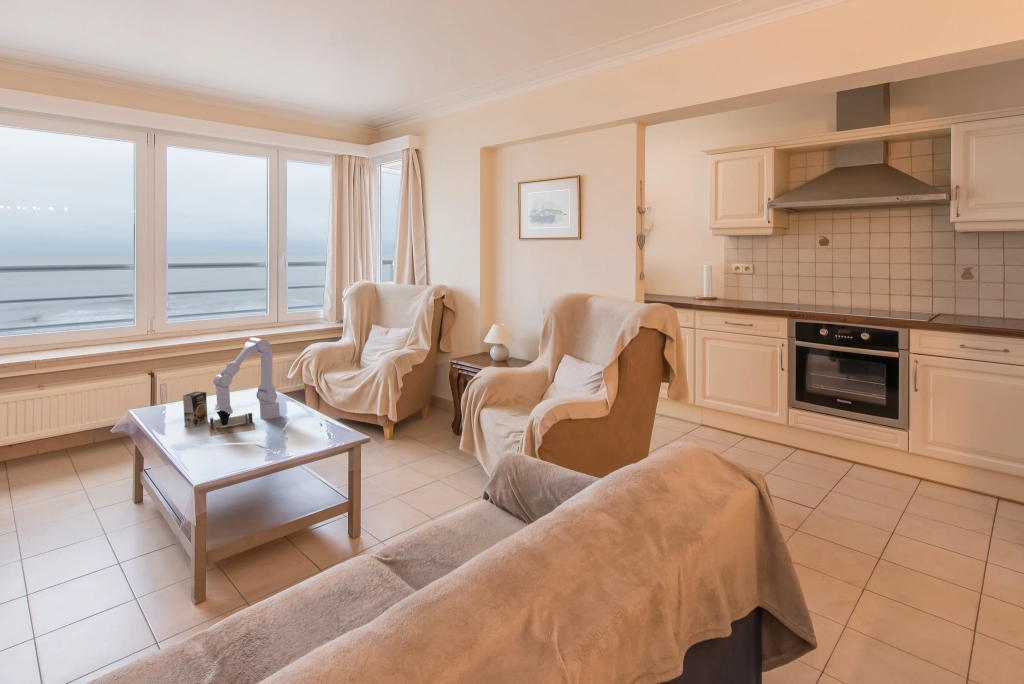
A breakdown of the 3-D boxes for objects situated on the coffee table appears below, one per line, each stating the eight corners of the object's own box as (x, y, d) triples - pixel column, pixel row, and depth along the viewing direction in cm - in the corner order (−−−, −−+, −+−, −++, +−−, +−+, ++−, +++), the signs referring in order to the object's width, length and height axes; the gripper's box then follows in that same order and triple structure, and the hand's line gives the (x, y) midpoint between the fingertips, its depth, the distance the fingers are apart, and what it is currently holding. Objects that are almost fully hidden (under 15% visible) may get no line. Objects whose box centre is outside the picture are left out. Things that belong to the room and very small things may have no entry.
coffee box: (195, 427, 280) (193, 396, 277) (184, 426, 281) (182, 395, 278) (208, 422, 289) (206, 391, 286) (197, 421, 290) (195, 390, 287)
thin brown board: (250, 419, 295) (250, 409, 294) (256, 431, 277) (255, 420, 276) (208, 424, 285) (207, 413, 284) (210, 437, 266) (209, 426, 265)
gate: (247, 421, 288) (246, 413, 287) (248, 422, 287) (248, 414, 286) (215, 427, 277) (214, 419, 277) (215, 427, 276) (215, 419, 276)
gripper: (208, 397, 277) (210, 423, 279) (221, 402, 268) (223, 430, 270) (223, 394, 282) (224, 420, 284) (236, 400, 273) (237, 426, 275)
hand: (224, 424), depth 277 cm, fingers closed
